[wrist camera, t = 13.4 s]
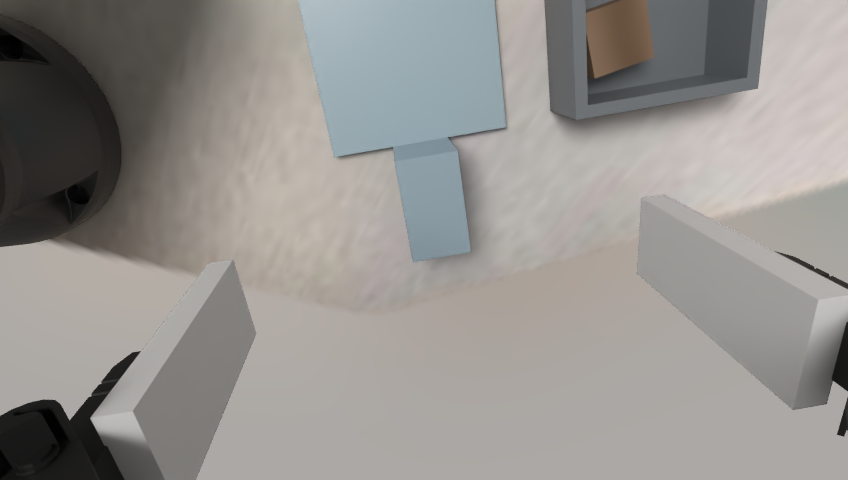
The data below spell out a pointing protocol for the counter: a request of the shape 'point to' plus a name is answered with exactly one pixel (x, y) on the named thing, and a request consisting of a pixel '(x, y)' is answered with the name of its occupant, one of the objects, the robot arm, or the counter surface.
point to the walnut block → (617, 36)
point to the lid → (410, 97)
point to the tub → (657, 56)
